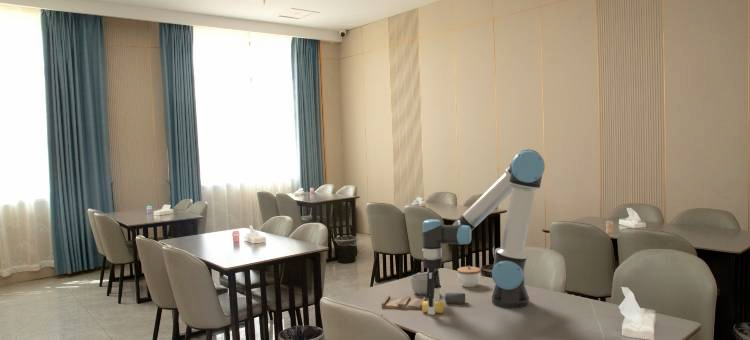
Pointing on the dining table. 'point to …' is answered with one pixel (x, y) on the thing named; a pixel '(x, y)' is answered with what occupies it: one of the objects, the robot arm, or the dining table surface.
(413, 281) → the teacup
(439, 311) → the yellow foam roll
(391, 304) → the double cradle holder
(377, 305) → the dining table surface
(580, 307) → the dining table surface
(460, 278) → the lidded jar
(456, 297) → the gray cylinder
